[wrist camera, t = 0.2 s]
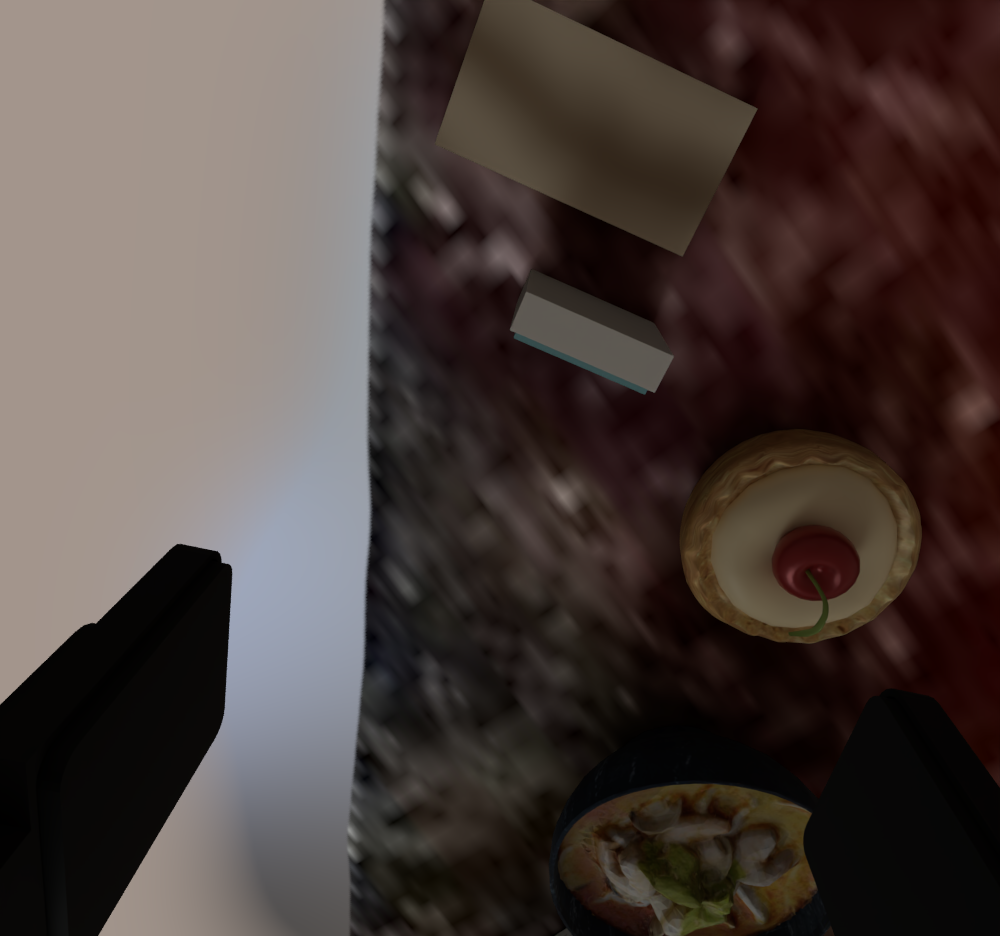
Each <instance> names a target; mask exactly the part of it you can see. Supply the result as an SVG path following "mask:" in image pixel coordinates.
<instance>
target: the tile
mask: <svg viewBox="0 0 1000 936" xmlns="http://www.w3.org/2000/svg"><path fill="white" fill-rule="evenodd" d="M510 330H511V331H513V332H515V334H514V338H515V339H517V340H519V341H522V342H524V343H526V344H529V345H531V346H533V347H536V348H538V349H540V350H543V351H545V352H547V353H549V354H552V355H554V356H556V357H559V358H561V359H563V360H566V361H568V362H570V363H573V364H575V365H577V366H580V367H582V368H584V369H587V370H589V371H591V372H593V373H596V374H598V375H600V376H603V377H605V378H607V379H610V380H612V381H614V382H617V383H619V384H621V385H624V386H626V387H628V388H631V389H633V390H635V391H637V392H640V393H642V394H644V395H645V394H646V392H647V390H649V391H652V392H654V393H655V391H656V389H657V387H658V385H659V384H660V382H661V380H662V378H663V376H664V374H665V372H666V370H667V369H668V367H669V365H670V363H671V361H672V359H673V357H674V356H673V354H672V352H671V351H670V349H669V347H668V346H667V344H666V342H665V340H664V339H663V337H662V335H661V334H660V332H659V330H658V329H657V327H656V325H655V324H654V323H653V322H651V321H648V320H646V319H644V318H642V317H639V316H637V315H635V314H633V313H630V312H628V311H626V310H623V309H621V308H619V307H617V306H614V305H612V304H610V303H608V302H605V301H603V300H601V299H599V298H596V297H594V296H592V295H590V294H587V293H585V292H583V291H581V290H578V289H576V288H574V287H572V286H569V285H567V284H565V283H562V282H560V281H558V280H556V279H553V278H551V277H549V276H547V275H544V274H542V273H540V272H538V271H535V270H533V269H531V271H530V273H529V276H528V278H527V280H526V283H525V285H524V287H523V290H522V292H521V294H520V297H519V299H518V302H517V305H516V309H515V313H514V316H513V320H512V324H511V327H510Z"/></svg>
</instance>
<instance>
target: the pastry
mask: <svg viewBox="0 0 1000 936" xmlns="http://www.w3.org/2000/svg"><path fill="white" fill-rule="evenodd" d="M921 538H922V527H921V521H920V513H919V510H918V507H917V505H916V502H915V500H914V498H913V496H912V494H911V492H910V490H909V488H908V486H907V485H906V483H905V482H904V481H903V480H902V479H901V478H900V477H899V476H898V475H897V474H896V473H895V471H894V470H892V469H891V468H890V467H889V466H888V465H887V464H886V463H885V462H884V461H883V460H881V459H880V458H879V457H878V456H877V455H876V454H874V453H873V452H872V451H870V450H869V449H867V448H865V447H863V446H861V445H858V444H856V443H854V442H852V441H850V440H847V439H845V438H843V437H840V436H837V435H834V434H831V433H826V432H820V431H812V430H806V429H789V430H780V431H773V432H769V433H765V434H761V435H758V436H755V437H753V438H750V439H748V440H746V441H743V442H741V443H740V444H738V445H736V446H735V447H733V448H731V449H730V450H728V451H727V452H725V453H724V454H723V455H722V456H721V457H719V458H718V459H717V460H716V461H715V462H714V463H713V464H712V465H711V466H710V467H709V468H708V469H707V470H706V471H705V472H704V474H703V475H702V477H701V478H700V480H699V481H698V483H697V484H696V485H695V487H694V489H693V491H692V493H691V495H690V497H689V499H688V501H687V503H686V506H685V509H684V513H683V517H682V522H681V529H680V551H681V558H682V565H683V570H684V574H685V577H686V581H687V583H688V585H689V587H690V589H691V591H692V593H693V594H694V596H695V598H696V599H697V600H698V602H699V603H700V604H701V605H702V606H703V607H704V608H705V609H706V610H707V611H708V612H709V613H711V615H713V616H714V617H715V618H717V619H719V620H721V621H722V622H724V623H727V624H729V625H731V626H733V627H734V628H736V629H738V630H740V631H742V632H744V633H746V634H748V635H752V636H761V637H764V638H767V639H770V640H773V641H776V642H796V643H810V644H812V643H816V642H819V641H822V640H825V639H829V638H833V637H837V636H842V635H846V634H847V633H849V632H851V631H853V630H854V629H856V628H858V627H860V626H862V625H864V624H866V623H868V622H870V621H872V620H873V619H875V618H876V617H877V616H878V615H879V614H880V613H881V612H882V611H883V610H884V609H885V608H886V607H887V606H888V605H889V604H890V603H891V602H892V601H894V600H895V599H896V598H897V597H898V596H899V595H900V593H901V592H902V591H903V589H904V588H905V586H906V584H907V583H908V581H909V579H910V577H911V575H912V574H913V572H914V569H915V567H916V565H917V561H918V557H919V552H920V546H921Z"/></svg>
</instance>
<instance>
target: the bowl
mask: <svg viewBox="0 0 1000 936" xmlns="http://www.w3.org/2000/svg"><path fill="white" fill-rule="evenodd" d="M818 800H819V799H818V798H817V797H816V796H815V795H814V794H813V793H812V792H811V791H810V790H809V789H808V788H807V787H806V786H805V785H804V784H803V783H802V782H801V781H800V780H799V779H798V778H797V777H796V776H795V775H793V774H792V773H791V772H790V771H788V770H787V769H786V768H784V767H783V766H781V765H780V764H779V763H777V762H776V761H775V760H773V759H772V758H771V757H769V756H768V755H766V754H764V753H762V752H759V751H757V750H755V749H753V748H751V747H748V746H746V745H744V744H742V743H739V742H737V741H734V740H731V739H728V738H724V737H721V736H717V735H714V734H712V733H710V732H708V731H705V730H702V729H698V728H695V727H688V726H680V725H676V726H667V727H659V728H656V729H653V730H649V731H646V732H643V733H642V734H640V735H638V736H637V737H635V738H633V739H632V740H630V741H629V742H628V743H627V744H626V745H625V746H624V747H622V748H620V749H618V750H617V751H616V752H614V753H613V754H611V755H610V756H608V757H607V758H606V759H604V760H603V761H601V762H600V763H599V764H598V765H597V766H596V767H595V768H593V769H592V770H591V771H590V772H589V773H588V774H587V775H586V776H585V777H584V778H583V780H582V781H581V782H580V784H579V785H578V787H577V788H576V789H575V791H574V792H573V793H572V795H571V796H570V798H569V799H568V801H567V803H566V805H565V807H564V809H563V811H562V813H561V815H560V818H559V820H558V822H557V825H556V828H555V831H554V834H553V839H552V846H551V853H550V860H549V875H550V889H551V893H552V898H553V902H554V904H555V907H556V909H557V912H558V914H559V916H560V918H561V920H562V921H563V923H564V925H565V926H566V928H567V929H568V931H569V932H570V933H571V934H572V936H823V935H824V934H825V933H826V932H827V930H828V929H829V927H830V926H831V924H830V921H829V919H828V916H827V913H826V910H825V908H824V905H823V902H822V900H821V897H820V894H819V891H818V889H817V886H816V883H815V881H814V878H813V875H812V872H811V870H810V867H809V864H808V861H807V859H806V856H805V852H804V846H803V835H804V830H805V827H806V825H807V822H808V820H809V818H810V816H811V814H812V812H813V810H814V808H815V806H816V804H817V802H818Z"/></svg>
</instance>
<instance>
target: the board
mask: <svg viewBox="0 0 1000 936" xmlns="http://www.w3.org/2000/svg"><path fill="white" fill-rule="evenodd" d="M756 111H757V108H755V107H753V106H751V105H749V104H747V103H745V102H743V101H741V100H738V99H736V98H734V97H732V96H730V95H728V94H726V93H724V92H722V91H720V90H718V89H715V88H713V87H711V86H709V85H707V84H705V83H703V82H701V81H699V80H697V79H695V78H693V77H690V76H688V75H686V74H684V73H682V72H680V71H678V70H676V69H674V68H672V67H670V66H667V65H665V64H663V63H661V62H659V61H657V60H655V59H653V58H651V57H649V56H647V55H644V54H642V53H640V52H638V51H636V50H634V49H632V48H630V47H628V46H626V45H624V44H622V43H619V42H617V41H615V40H613V39H611V38H609V37H607V36H605V35H603V34H601V33H599V32H596V31H594V30H592V29H590V28H588V27H586V26H584V25H582V24H580V23H578V22H576V21H573V20H571V19H569V18H567V17H565V16H563V15H561V14H559V13H557V12H555V11H553V10H551V9H548V8H546V7H544V6H542V5H540V4H538V3H536V2H534V1H532V0H484V3H483V6H482V9H481V12H480V15H479V18H478V21H477V24H476V26H475V29H474V32H473V35H472V38H471V41H470V44H469V47H468V50H467V52H466V55H465V58H464V61H463V64H462V67H461V70H460V73H459V76H458V78H457V81H456V84H455V87H454V90H453V93H452V96H451V99H450V102H449V104H448V107H447V110H446V113H445V116H444V119H443V122H442V125H441V128H440V130H439V133H438V136H437V139H436V142H435V145H437V146H440V147H442V148H444V149H446V150H448V151H451V152H453V153H455V154H457V155H459V156H462V157H464V158H466V159H468V160H470V161H473V162H475V163H477V164H479V165H482V166H484V167H486V168H488V169H490V170H493V171H495V172H497V173H499V174H501V175H504V176H506V177H508V178H510V179H512V180H515V181H517V182H519V183H521V184H523V185H526V186H528V187H530V188H532V189H534V190H537V191H539V192H541V193H543V194H545V195H548V196H550V197H552V198H554V199H557V200H559V201H561V202H563V203H565V204H568V205H570V206H572V207H574V208H576V209H579V210H581V211H583V212H585V213H587V214H590V215H592V216H594V217H596V218H598V219H601V220H603V221H605V222H607V223H609V224H612V225H614V226H616V227H618V228H620V229H623V230H625V231H627V232H629V233H632V234H634V235H636V236H638V237H640V238H643V239H645V240H647V241H649V242H651V243H654V244H656V245H658V246H660V247H662V248H665V249H667V250H669V251H671V252H673V253H676V254H678V255H680V256H682V257H683V255H684V253H685V251H686V249H687V247H688V245H689V243H690V241H691V239H692V237H693V235H694V233H695V231H696V229H697V227H698V225H699V223H700V221H701V219H702V217H703V215H704V213H705V211H706V209H707V207H708V205H709V203H710V201H711V199H712V198H713V196H714V194H715V192H716V190H717V188H718V186H719V184H720V182H721V180H722V178H723V176H724V174H725V172H726V170H727V168H728V166H729V164H730V162H731V160H732V158H733V156H734V154H735V152H736V150H737V148H738V146H739V144H740V142H741V140H742V138H743V136H744V134H745V132H746V130H747V128H748V126H749V125H750V123H751V121H752V119H753V117H754V115H755V113H756Z"/></svg>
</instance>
